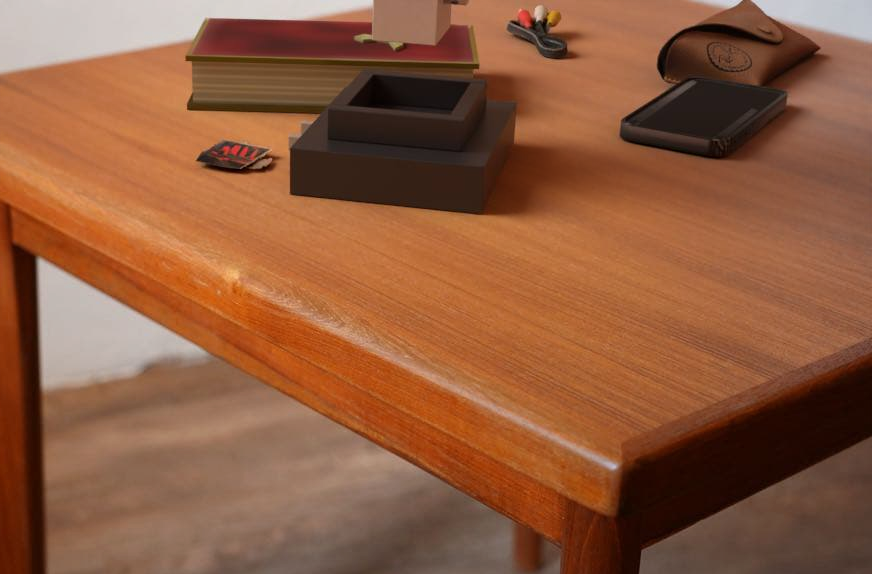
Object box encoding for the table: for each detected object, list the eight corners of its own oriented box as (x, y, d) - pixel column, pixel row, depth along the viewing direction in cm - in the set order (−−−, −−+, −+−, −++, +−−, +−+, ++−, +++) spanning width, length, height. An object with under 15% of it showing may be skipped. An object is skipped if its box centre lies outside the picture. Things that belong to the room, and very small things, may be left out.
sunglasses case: (762, 92, 108) (728, 9, 107) (678, 125, 112) (645, 46, 112) (825, 47, 122) (796, -27, 121) (748, 78, 126) (719, 7, 125)
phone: (615, 122, 100) (691, 74, 111) (614, 138, 100) (689, 88, 111) (726, 143, 96) (793, 90, 107) (724, 159, 96) (791, 105, 108)
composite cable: (571, 59, 119) (574, 29, 118) (513, 58, 119) (516, 28, 118) (557, 30, 128) (559, 2, 127) (503, 29, 128) (505, 1, 127)
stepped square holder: (513, 144, 99) (519, 72, 97) (481, 214, 87) (486, 134, 85) (322, 126, 102) (323, 56, 100) (264, 191, 90) (264, 113, 88)
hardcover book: (207, 65, 116) (206, 13, 114) (469, 72, 115) (472, 20, 113) (187, 109, 105) (185, 51, 103) (476, 117, 104) (479, 60, 102)
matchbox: (191, 167, 93) (191, 159, 93) (215, 143, 98) (215, 136, 97) (261, 173, 92) (261, 166, 92) (282, 149, 97) (282, 142, 97)
